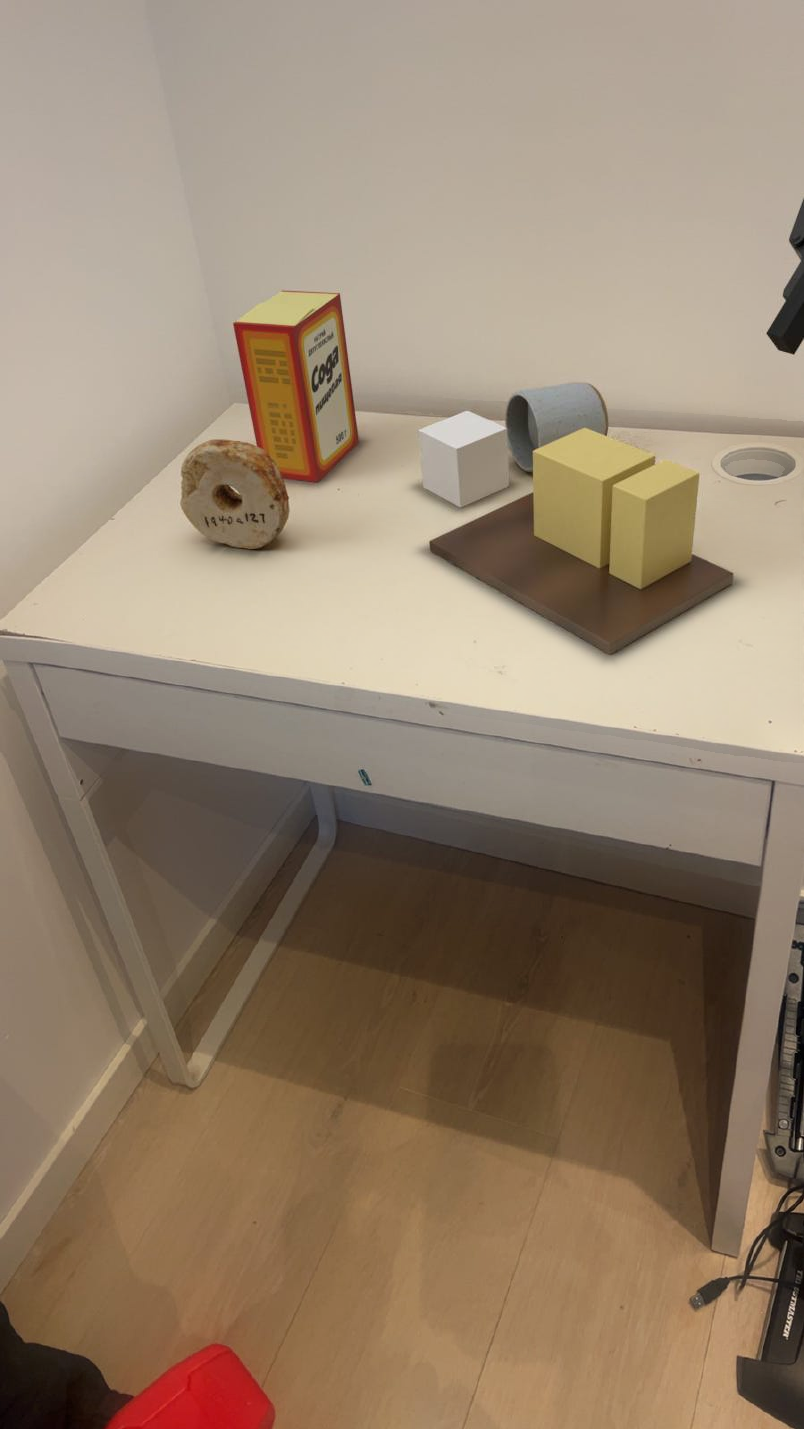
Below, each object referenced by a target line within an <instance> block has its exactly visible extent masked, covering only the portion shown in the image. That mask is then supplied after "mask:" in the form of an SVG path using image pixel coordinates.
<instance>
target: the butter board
mask: <svg viewBox="0 0 804 1429" xmlns="http://www.w3.org/2000/svg"><path fill="white" fill-rule="evenodd" d="M429 551H430V552H431V553H434V554H435V555H437V556H439V557H441V558H442V559H444V560H445V561H447V562H449V563H451V564H453V565H454V566H456V567H457V568H459V569H461V570H463V571H465V572H466V573H468V574H469V575H471V576H474V577H475V578H477V579H478V580H480V581H482V582H483V583H485V584H486V585H489V586H490V587H492V588H494V589H496V590H497V591H499V592H500V593H503V594H504V595H506V596H508V597H509V598H511V599H513V600H515V601H517V602H518V603H520V604H522V605H523V606H525V607H527V608H529V609H530V610H532V611H534V612H536V613H537V614H539V615H540V616H542V617H544V618H545V619H547V620H549V621H551V622H553V623H555V624H556V625H558V626H560V627H561V628H563V629H565V630H567V631H568V632H570V633H572V634H574V635H575V636H577V637H578V638H580V639H582V640H584V641H585V642H587V643H589V644H591V645H593V646H594V647H596V648H598V649H599V650H601V651H602V652H604V653H606V654H608V655H612V654H614V653H617V651H620V650H621V649H623V648H624V647H627V646H628V645H630V644H631V643H633V642H634V641H636V640H639V639H640V638H642V637H643V636H645V635H647V634H648V633H650V632H652V631H654V630H655V629H657V628H659V627H660V626H662V625H663V624H665V623H667V622H669V621H670V620H672V619H674V618H676V617H677V616H679V615H680V614H682V613H684V612H686V611H688V610H689V609H691V608H693V607H695V606H696V605H699V603H701V602H703V601H704V600H706V599H708V598H710V597H711V596H713V595H715V594H717V593H718V592H720V591H722V590H724V589H725V588H727V587H729V586H730V585H732V584H733V581H734V575H735V574H734V572H732V571H730V570H728V569H726V568H724V567H722V566H719V565H717V564H715V563H713V562H710V561H709V560H707V559H704V558H702V557H700V556H697V555H695V554H693V553H692V557H691V562H689V563H687V564H686V565H684V566H682V567H680V568H678V569H677V570H675V571H673V572H671V573H669V574H668V575H666V576H664V577H662V578H660V579H659V580H657V581H655V582H653V583H652V584H650V585H648V586H646V587H644V588H643V589H639V588H637V587H635V586H633V585H631V584H629V583H627V582H625V581H623V580H621V579H619V578H617V577H615V576H613V575H611V574H610V573H609V567H610V564H608V565H606V566H604V567H602V568H601V569H599V568H597V567H595V566H593V565H591V564H589V563H587V562H585V561H584V560H582V559H580V558H578V557H576V556H574V555H572V554H570V553H568V552H566V551H564V550H562V549H560V548H558V547H556V546H554V545H552V544H550V543H548V542H546V541H544V540H542V539H540V538H538V537H536V536H534V496H533V492H530V493H528V494H526V495H524V496H522V497H519V498H518V499H515V500H513V501H511V502H509V503H507V504H504V505H502V506H500V507H498V508H497V509H494V510H492V511H490V512H488V513H486V514H483V515H482V516H479V517H477V518H475V519H472V520H471V521H469V522H466V523H465V524H462V525H461V526H459V527H456V528H454V529H452V530H450V531H448V532H446V533H443V534H442V535H439V536H437V537H435V538H433V539H431V540H429Z"/></svg>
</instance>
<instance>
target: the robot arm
mask: <svg viewBox="0 0 804 1429" xmlns="http://www.w3.org/2000/svg"><path fill="white" fill-rule="evenodd" d="M788 242H789V244H790V245H791V246H790V247H792V249H793V250H794V252H795V254H796V255H797V258H798V259H799V260H800V262H799V263H798V265H797V267H796V268H795V270H794V271H793V274H792V275H791V277H790V278H789V280H788V282H787V283H786V285H785V287H784V288H783V292H782V297H783V299H784V300H785V301H784V302H783V305H782V306H781V308H780V310H779V312H777V314H776V316H775V317H774V320H773V321H772V323H771V324H770V326H769V328H768V329H767V331H766V333H765V334H766V336H767V337H768V338H769V339H770V341H771V342H772V343H773V345H774V346H775V348H776V349H777V350H778V351H779V352H782V353H787V354H789V355H794V356H795V354H796V353H797V351H798V350H799V348H800V346H801V344H802V342H803V341H804V197H803V198H802V202H801V204H800V207H799V210H798V212H797V215H796V218H795V220H794V224H793V226H792V229H791V232H790V235H789V238H788Z"/></svg>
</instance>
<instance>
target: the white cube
mask: <svg viewBox="0 0 804 1429" xmlns="http://www.w3.org/2000/svg"><path fill="white" fill-rule="evenodd" d="M417 434H418V435H417V436H418V444H419V456H420V467H421V468H420V469H421V478H422V488H423V489H425V490H427V491H429V492H431V493H433V494H435V495H436V496H438V497H440V498H442V499H443V500H445V501H447V502H449V503H451V504H453V505H455V506H456V507H458V508H460V509H461V508H463V507H465V506H468V505H470V504H473V503H474V502H478V501H479V500H481V499H485V498H486V497H488V496H491V495H493V494H496V493H498V492H500V491H502V490H504V489H507V488H509V487H510V478H509V476H510V475H509V472H510V471H509V444H508V440H507V428H506V426H503V425H500V424H499V423H496V422H494V421H492V420H489V419H487V418H485V417H483V416H481V415H479V414H476V413H474V412H472V411H469V410H465V411H462V412H460V413H458V414H455V415H452V416H450V417H447V418H445V419H443V420H440V421H437V422H434V423H432V424H429V425H427V426H425V427H422V428H420V429H417Z"/></svg>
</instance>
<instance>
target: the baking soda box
mask: <svg viewBox="0 0 804 1429" xmlns="http://www.w3.org/2000/svg"><path fill="white" fill-rule="evenodd" d="M232 326H233V330H234V336H235V341H236V346H237V351H238V356H239V361H240V367H241V372H242V377H243V383H244V387H245V392H246V398H247V403H248V408H249V413H250V418H251V424H252V427H253V434H254V439H255V443H256V446H257V447H259V448H261V449H263V450H264V451H265V452H267V453H268V455H269V456H270V458H271V459H272V460H273V461H274V462H275V463H276V466H277V469H278V470H280V471H281V474H282V476H283V479H287V480H294V481H303V482H310V483H319V482H320V481H321V480H322V479H323V478H324V477H325V476H326V475H327V474H328V473H330V471H331V470H332V469H334V468H335V466H336V465H338V463H340V461H342V460H343V459H344V458H345V457H346V456H347V455H348V454H349V453H350V452H351V451H352V450H353V449H354V448H356V446H357V445H358V444H359V443H360V441H359V440H360V439H359V431H358V425H357V424H358V423H357V417H356V409H355V399H354V393H353V384H352V377H351V369H350V362H349V354H348V345H347V338H346V329H345V322H344V315H343V307H342V300H341V293H340V292H321V291H319V292H318V291H303V290H302V291H300V290H284V289H283V290H281V291H279V292H278V293H277V294H275V295H274V296H272V297H270V298H269V299H267V300H266V301H264V302H260V303H258V304H257V305H256V306H254V307H253V308H252V309H250V310H249V311H248V312H246V313H244V315H243V316H241V317H240V318H238V319H237V320H235V321H234V322H233V323H232Z"/></svg>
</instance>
